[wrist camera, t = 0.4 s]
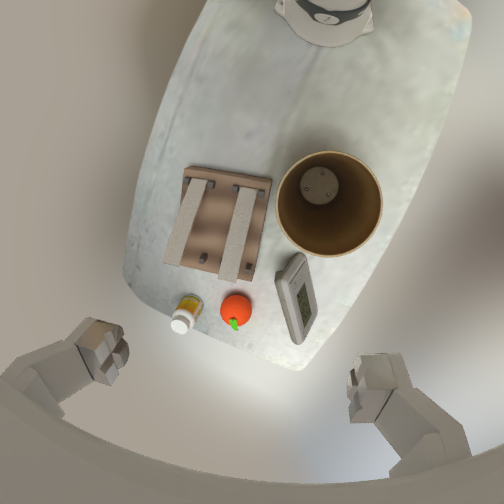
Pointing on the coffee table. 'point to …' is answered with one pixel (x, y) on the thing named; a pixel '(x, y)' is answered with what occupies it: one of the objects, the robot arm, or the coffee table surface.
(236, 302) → the clementine
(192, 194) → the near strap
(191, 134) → the coffee table surface
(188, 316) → the supplement bottle
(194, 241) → the strap base
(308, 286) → the digital clock
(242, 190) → the strap
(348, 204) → the plant pot
